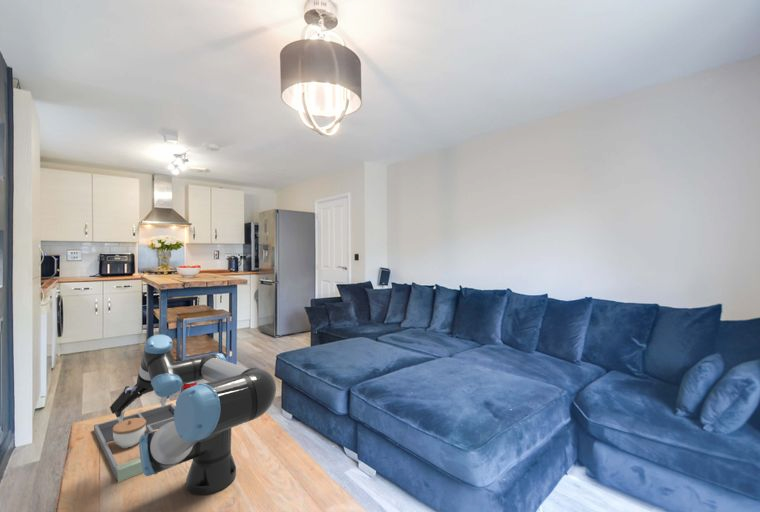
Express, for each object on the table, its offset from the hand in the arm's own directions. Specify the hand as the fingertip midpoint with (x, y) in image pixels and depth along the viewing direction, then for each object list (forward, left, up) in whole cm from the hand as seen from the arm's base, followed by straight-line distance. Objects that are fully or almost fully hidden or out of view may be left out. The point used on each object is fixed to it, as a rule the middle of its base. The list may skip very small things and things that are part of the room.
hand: (141, 411), depth 127 cm
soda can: (+32, -27, -18) cm, 46 cm away
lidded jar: (+14, +1, -18) cm, 23 cm away
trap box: (+13, -6, -17) cm, 22 cm away
